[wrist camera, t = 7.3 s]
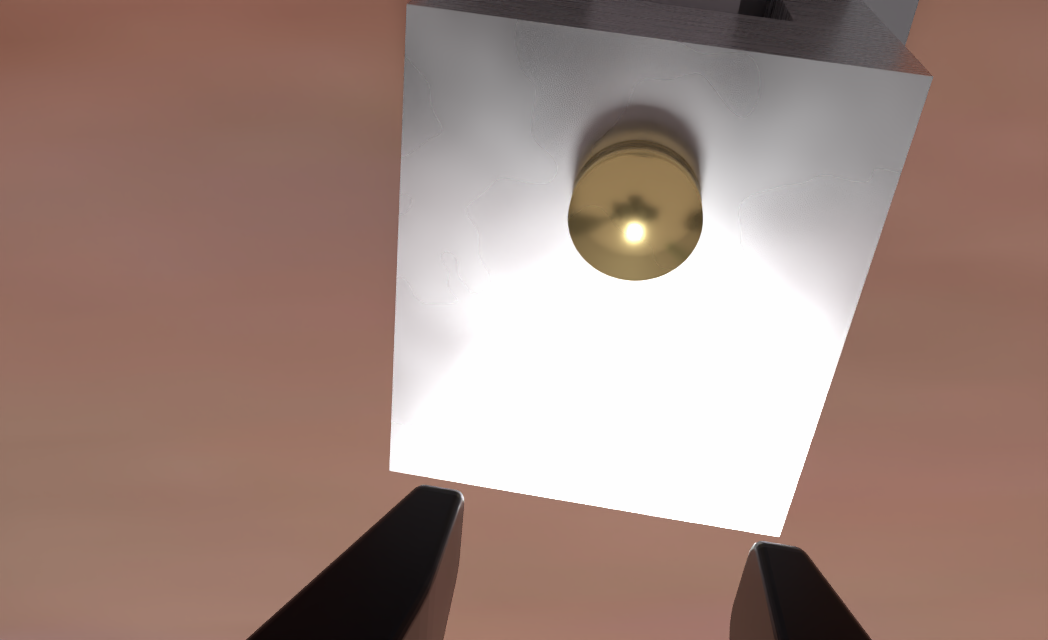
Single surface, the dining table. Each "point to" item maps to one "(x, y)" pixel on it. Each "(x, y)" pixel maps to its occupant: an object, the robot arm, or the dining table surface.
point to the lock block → (637, 243)
